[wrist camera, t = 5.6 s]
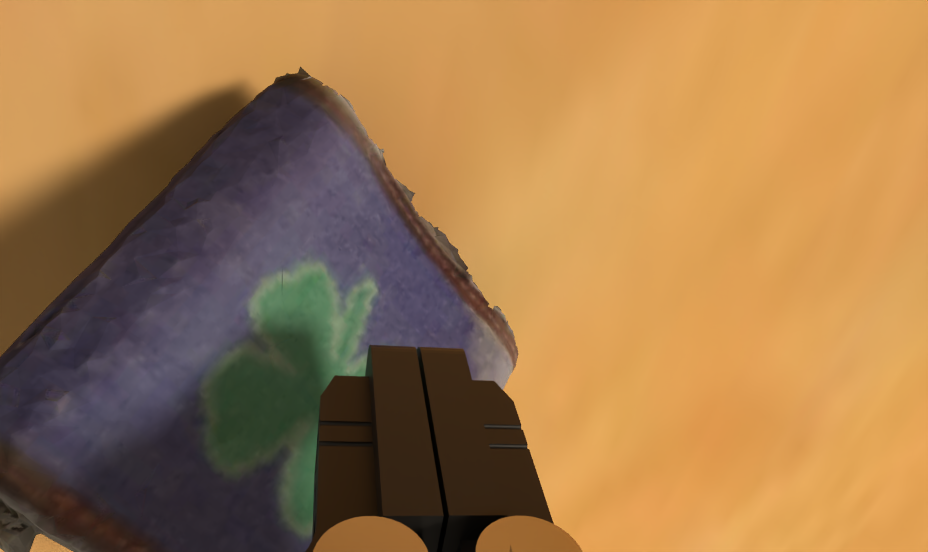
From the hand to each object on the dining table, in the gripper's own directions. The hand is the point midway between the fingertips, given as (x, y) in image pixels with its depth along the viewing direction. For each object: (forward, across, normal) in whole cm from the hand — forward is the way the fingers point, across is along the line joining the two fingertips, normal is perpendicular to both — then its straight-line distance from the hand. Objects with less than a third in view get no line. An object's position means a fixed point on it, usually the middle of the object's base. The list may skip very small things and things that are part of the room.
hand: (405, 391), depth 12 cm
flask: (+6, 0, 0) cm, 6 cm away
